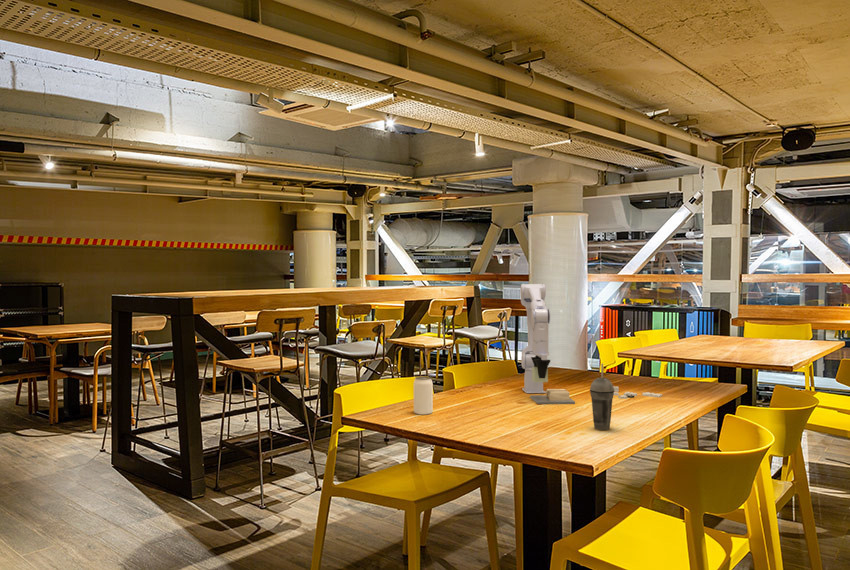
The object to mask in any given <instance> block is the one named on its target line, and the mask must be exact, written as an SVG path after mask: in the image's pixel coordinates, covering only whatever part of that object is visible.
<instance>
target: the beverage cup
mask: <svg viewBox="0 0 850 570" xmlns="http://www.w3.org/2000/svg"><path fill="white" fill-rule="evenodd" d="M600 369H601V373H600V374H601V375H600V377H597V378H595V379H594V380H593V381H592V382H591V385H590V387H589V394H590V397H591V406H592V408H591V409H592V410H591V411H592V420H593V428H594V429H595V430H597V431H609V430H610V428H611V427H610V426H611V422H612V421H611V418H612V410H613V409H612V408H613V398H614V396H615V395H614V387H615V386H614V384H613V383H612V381H611V380H610V379H608V378H606V377H604V363H601V368H600ZM613 386H614V387H613Z"/></svg>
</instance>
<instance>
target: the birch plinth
mask: <svg viewBox="0 0 850 570" xmlns="http://www.w3.org/2000/svg"><path fill="white" fill-rule="evenodd" d="M545 392H546V393H545V395H546V397H547V398H548V399H549V400H550V401H557V400H569V398H570V391H568V390H567V389H565V388H562V389H561V388H546V390H545Z"/></svg>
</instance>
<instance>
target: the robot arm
mask: <svg viewBox="0 0 850 570" xmlns="http://www.w3.org/2000/svg"><path fill="white" fill-rule="evenodd" d="M546 289H547V288H546V285H545V284H544V283H521V285H520V290H519V292H520V293H519V294H520V303H521V305H522V306H524V307H525V310H526V319H527V320H526V325H527V346H526V347H524V348H523V349H522V351H521V359H520V360H521V361H520V363H521V368H522V369H524V373H523V374H524V376H523V377H524V378H523V379H524V383H523V384H524V387H522V388H521V389H522V391H524V392H525V394H546V390H544V382H534V381H532V367H537V368H538V375H539V378H545V376H546V372H547V369H548V368H549V365H550V364H551V359H548V356H549V355H550V353H549V324H550V322H551V311H550V308H548V307H547V306H546V303H545V299H546V292H547V291H546Z"/></svg>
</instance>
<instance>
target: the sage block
mask: <svg viewBox="0 0 850 570" xmlns="http://www.w3.org/2000/svg"><path fill="white" fill-rule="evenodd" d="M548 375H549V369H548V368H547V372H546V376H545V378H539V375H538V368H537V367H532V381H534V382H543V383H549V376H548Z"/></svg>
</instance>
